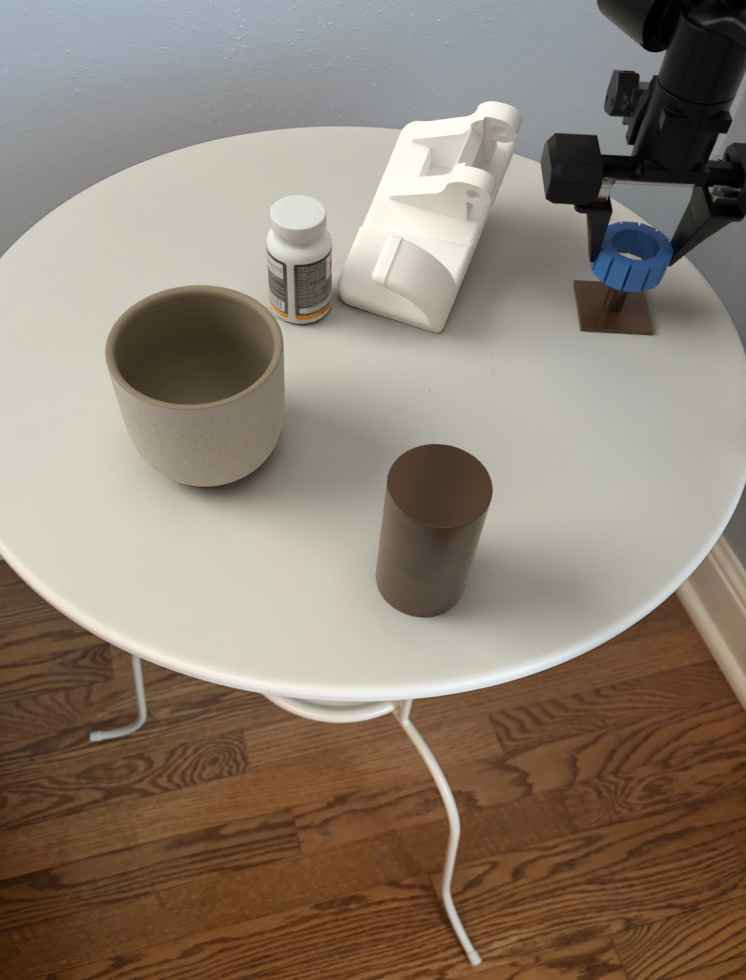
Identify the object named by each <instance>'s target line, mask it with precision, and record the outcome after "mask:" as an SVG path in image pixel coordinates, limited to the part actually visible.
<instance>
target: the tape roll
mask: <svg viewBox="0 0 746 980" xmlns="http://www.w3.org/2000/svg"><path fill="white" fill-rule="evenodd" d="M623 254H629V255H632V256H633V257H637V258H639V259H634V258H630V257H628V256H626V255H623ZM672 256H673V248H672V244H671V240H670V239H669V237H667V236H666V235H665V234H664V232H662V231H661V230H659V229H658V230H657V228H656V227H653V226H651V225H648V224H646V223H643V222H641V223H640V224H639V222H638V221H625V220H623V221H622V222H620V221H617V222H614V223H611V224H608V228H607V231H606V234H605V237H604V240H603V243H602V246H601V250H600V253H599V255H598V256H597V258H596V260H595V261H594V262H590V261H589V264H590V270H591V272H592V274H593V275H594V276H595V277H596V278H597V279H598V281H601V282H602V283H603V282H606V283H605V285H607V286H610V287H612V288H615V289H617V290H619V291H620V290H621V289H622V287H623V291H624V292H640V290H641V291H642V292H644V291H645V292H646V291H649V290H653V289H654V288H656V287H658V286H659V284H660V283H661V281H662V280H663V278H664V277H665V274H666V272H667V269H668V265H669V263H670V260H671V258H672Z"/></svg>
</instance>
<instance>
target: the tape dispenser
mask: <svg viewBox="0 0 746 980" xmlns="http://www.w3.org/2000/svg"><path fill="white" fill-rule="evenodd" d="M523 120H524V119H523V115H522V113H521V112H520V111H519V110H518V109H517V108H516V107H514V106H513V105H511V104H508V103H504V102H500V101H493V100H490V101H489V100H488V101H484V102H482V103H479V104H478V106H477V107H476V110H475V111H474V112H473V113H472V114H469V115H466V116H458V117H450V118H442V119H435V120H428V121H426V120H413V121H411V122H409V123H407V124H406V125H404V127H403V128H402V129H401V131H400V133H399V136H398V137H397V141H396V143H395V146H394V148H393V151H392V153H391V156H390V158H389V160H388V163H387V165H386V167H385V170H384V172H383V174H382V177H381V179H380V183H379V184H378V187H377V189H376V192H375V194H374V197H373V199H372V201H371V204H370V206H369V209H368V211H367V213H366V216H365V218H364V221H363V223H362V225H360V226H359V228H358V230H357V233H356V236H355V238H354V241H353V243H352V246H351V248H350V250H349V253H348V254H347V258H346V260H345V262H344V264H343V267H342V270H341V271H340V272H341V273H340V275H339V276H338V279H337V285H336V286H337V287H336V288H337V292H338V295H339V298H340V299H341V301H342V302H343V303H345V304H346V305H347V306H351V307H354V308H356V309H360V310H363V311H365V312H368V313H371V314H375V315H379V316H381V317H385V318H388V319H390V320H394V321H396V322H401V323H404V324H406V325H409V326H412V327H415V328H419V329H422V330H425V331H428V332H431V333H434V334H437V333H441V332H442V331H443V330H444V328H445V326H446V323H447V321H448V318H449V316H450V313H451V310H452V308H453V306H454V303H455V301H456V298H457V295H458V293H459V290H460V288H461V286H462V283H463V281H464V278H465V275H466V274H467V271H468V268H469V266H470V263H471V260H472V258H473V256H474V253H475V251H476V248H477V246H478V243H479V241H480V238H481V236H482V233H483V231H484V228H485V225H486V223H487V221H488V219H489V216H490V214H491V212H492V211H491V210H492V208H493V205H494V203H495V200H496V198H497V196H498V193H499V190H500V188H501V185H502V183H503V182H504V181H503V180H504V179H505V176H506V173H507V170H508V168H509V165H510V163H511V161H512V158H513V155H514V153H515V147H516V146H515V140H516V138H517V136H518V134H519V131H520V129H521V126H522V123H523Z"/></svg>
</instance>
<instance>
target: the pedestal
mask: <svg viewBox="0 0 746 980" xmlns="http://www.w3.org/2000/svg"><path fill="white" fill-rule="evenodd" d="M493 493H494V487H493V481H492V479H491V475H490V474H489V471H488V469H487V468H486V467H485V465H484V464H483V463H482V462H481V461H480V460H479V459H478V458H477V457H475V456H474V455H473V454H471V453H470V452H468V451H466V450H464V449H462V448H459V447H457V446H454V445H449V444H443V443H427V444H421V445H418V446H415V447H413V448H410V449H408V450H406V451H404V452H403V453H402V454H400V455H399V456H398V457H397V458H396V459H395V460H394V461H393V463H392V464H391V466H390V468H389V470H388V473H387V476H386V485H385V494H384V501H383V510H382V518H381V527H380V534H379V542H378V550H377V557H376V558H377V559H376V568H375V583H376V587H377V589H378V591H379V593H380V595H381V596H382V598H383V599H384V600H385V601H386V603H387V604H388V605H390V606H391V607H393V608H394V609H396V610H397V611H398V612H401V613H402V614H405V615H409V616H412V617H420V618H421V617H423V618H424V617H426V618H428V617H434V616H438V615H440V614H444V613H445V612H447V611H449V610H451V609H452V608H453V607H454V606H456V605H457V604H458V602H459V601H460V600H461V598H462V596H463V594H464V591H465V589H466V585H467V582H468V579H469V575H470V572H471V569H472V565H473V563H474V559H475V556H476V552H477V549H478V545H479V543H480V539H481V536H482V532H483V529H484V525H485V522H486V519H487V516H488V512H489V509H490V506H491V503H492V500H493Z"/></svg>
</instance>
